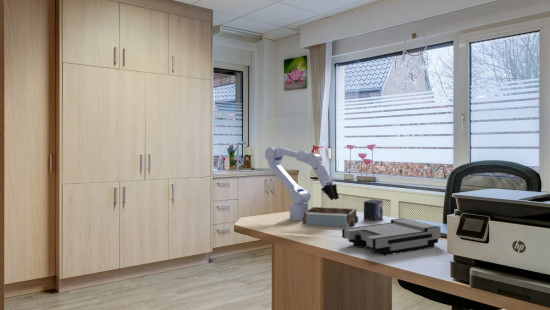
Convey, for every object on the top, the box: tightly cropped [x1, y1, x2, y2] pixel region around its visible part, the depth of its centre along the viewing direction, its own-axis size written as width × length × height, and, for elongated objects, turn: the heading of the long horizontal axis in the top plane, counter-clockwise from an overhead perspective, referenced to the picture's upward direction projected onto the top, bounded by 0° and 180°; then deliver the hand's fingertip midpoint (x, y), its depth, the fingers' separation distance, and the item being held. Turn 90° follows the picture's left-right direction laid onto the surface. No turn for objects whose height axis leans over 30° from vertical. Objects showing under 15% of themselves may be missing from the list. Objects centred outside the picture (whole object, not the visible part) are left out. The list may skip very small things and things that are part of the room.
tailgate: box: [305, 212, 348, 228], centre depth 207 cm, size 20×1×6 cm, turn 69°
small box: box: [363, 198, 384, 222], centre depth 222 cm, size 11×6×10 cm, turn 143°
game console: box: [341, 217, 442, 256], centre depth 170 cm, size 21×32×8 cm, turn 116°
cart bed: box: [302, 206, 359, 228], centre depth 215 cm, size 25×16×7 cm, turn 69°
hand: (335, 199), depth 214 cm, fingers open, 7 cm apart
